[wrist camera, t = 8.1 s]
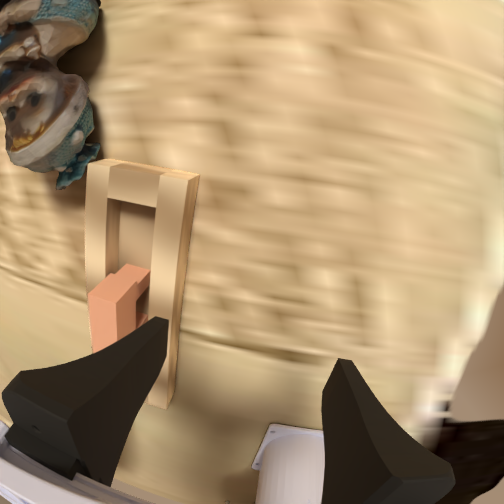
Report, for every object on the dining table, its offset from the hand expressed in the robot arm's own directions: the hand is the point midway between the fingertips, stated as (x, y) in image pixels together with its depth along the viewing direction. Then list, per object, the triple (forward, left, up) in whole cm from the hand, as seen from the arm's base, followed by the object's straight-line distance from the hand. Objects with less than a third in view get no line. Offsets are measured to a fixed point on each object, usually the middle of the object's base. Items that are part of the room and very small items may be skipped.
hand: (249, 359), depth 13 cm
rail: (-5, +9, -10) cm, 14 cm away
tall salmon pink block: (-5, +9, -9) cm, 14 cm away
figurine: (+10, +17, -10) cm, 22 cm away
